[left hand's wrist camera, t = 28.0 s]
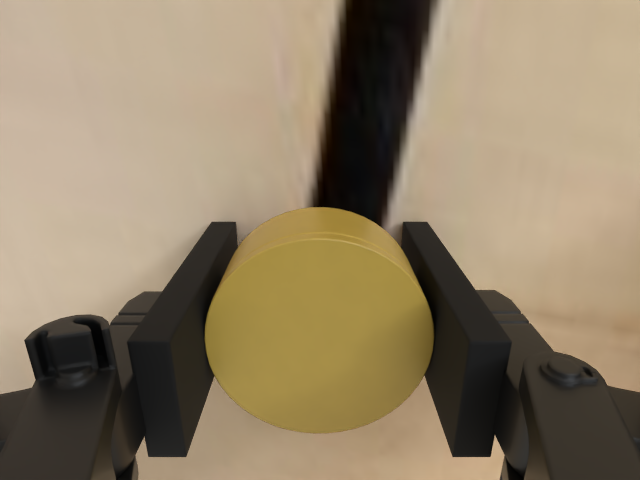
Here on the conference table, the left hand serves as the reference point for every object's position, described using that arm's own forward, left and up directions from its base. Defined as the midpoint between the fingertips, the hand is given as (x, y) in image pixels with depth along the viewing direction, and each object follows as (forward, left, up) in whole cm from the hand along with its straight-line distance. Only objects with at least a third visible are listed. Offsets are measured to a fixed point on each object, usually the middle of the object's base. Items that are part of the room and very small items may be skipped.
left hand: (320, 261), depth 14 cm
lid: (0, 0, +4) cm, 4 cm away
